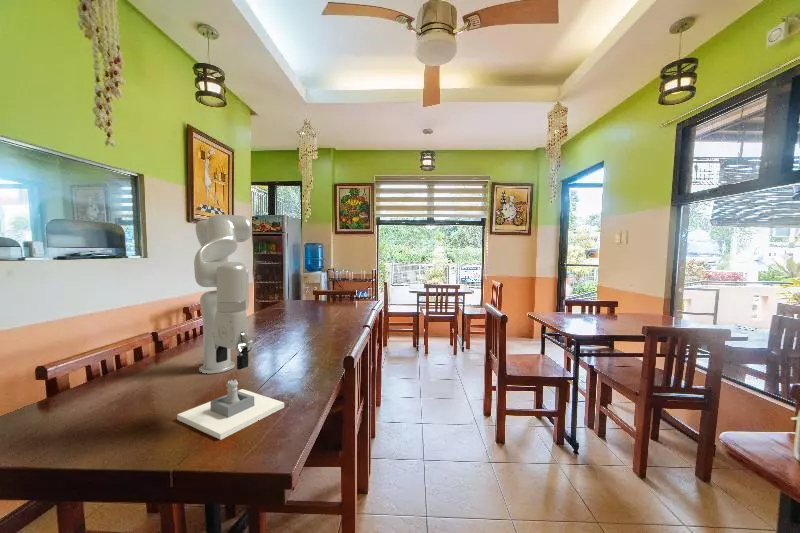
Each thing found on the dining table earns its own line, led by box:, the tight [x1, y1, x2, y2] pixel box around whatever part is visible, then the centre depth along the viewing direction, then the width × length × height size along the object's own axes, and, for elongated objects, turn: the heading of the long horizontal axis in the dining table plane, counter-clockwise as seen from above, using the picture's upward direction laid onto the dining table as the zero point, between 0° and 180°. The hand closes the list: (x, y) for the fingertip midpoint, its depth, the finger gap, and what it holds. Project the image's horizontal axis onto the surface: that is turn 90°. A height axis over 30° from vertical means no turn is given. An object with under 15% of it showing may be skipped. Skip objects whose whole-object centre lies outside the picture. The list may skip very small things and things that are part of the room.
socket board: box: [176, 388, 285, 441], centre depth 95 cm, size 20×20×4 cm
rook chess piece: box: [225, 379, 240, 405], centre depth 95 cm, size 4×4×8 cm
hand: (232, 364), depth 95 cm, fingers open, 9 cm apart
